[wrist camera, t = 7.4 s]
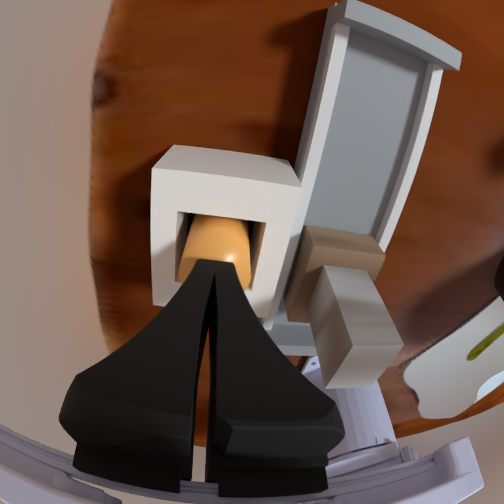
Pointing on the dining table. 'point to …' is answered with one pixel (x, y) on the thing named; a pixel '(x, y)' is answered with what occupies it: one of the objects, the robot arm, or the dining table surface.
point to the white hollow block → (222, 212)
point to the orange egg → (218, 245)
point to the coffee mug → (500, 279)
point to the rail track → (360, 136)
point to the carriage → (342, 306)
